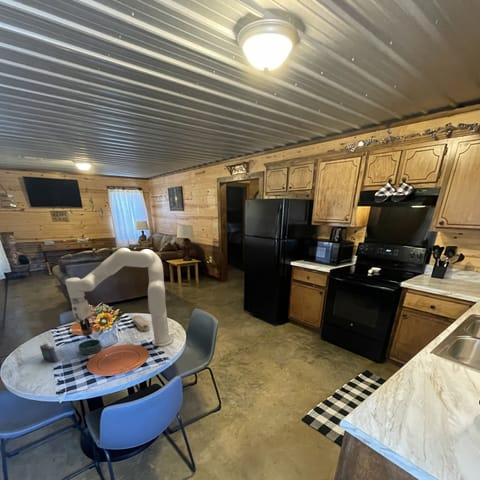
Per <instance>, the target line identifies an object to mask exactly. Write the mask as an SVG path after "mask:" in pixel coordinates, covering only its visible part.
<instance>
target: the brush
mask: <svg viewBox="0 0 480 480" xmlns="http://www.w3.org/2000/svg"><path fill="white" fill-rule="evenodd" d="M81 321H82V320H81ZM84 321H85V323H86V326H87V330H82V329H80V330H81V333H82V336H83V337H87V336H88V337H89V336H91V335H93V333H94V332H93V328H92V327H91V326H90V327H88V324H87V320H86V319H84Z"/></svg>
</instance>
